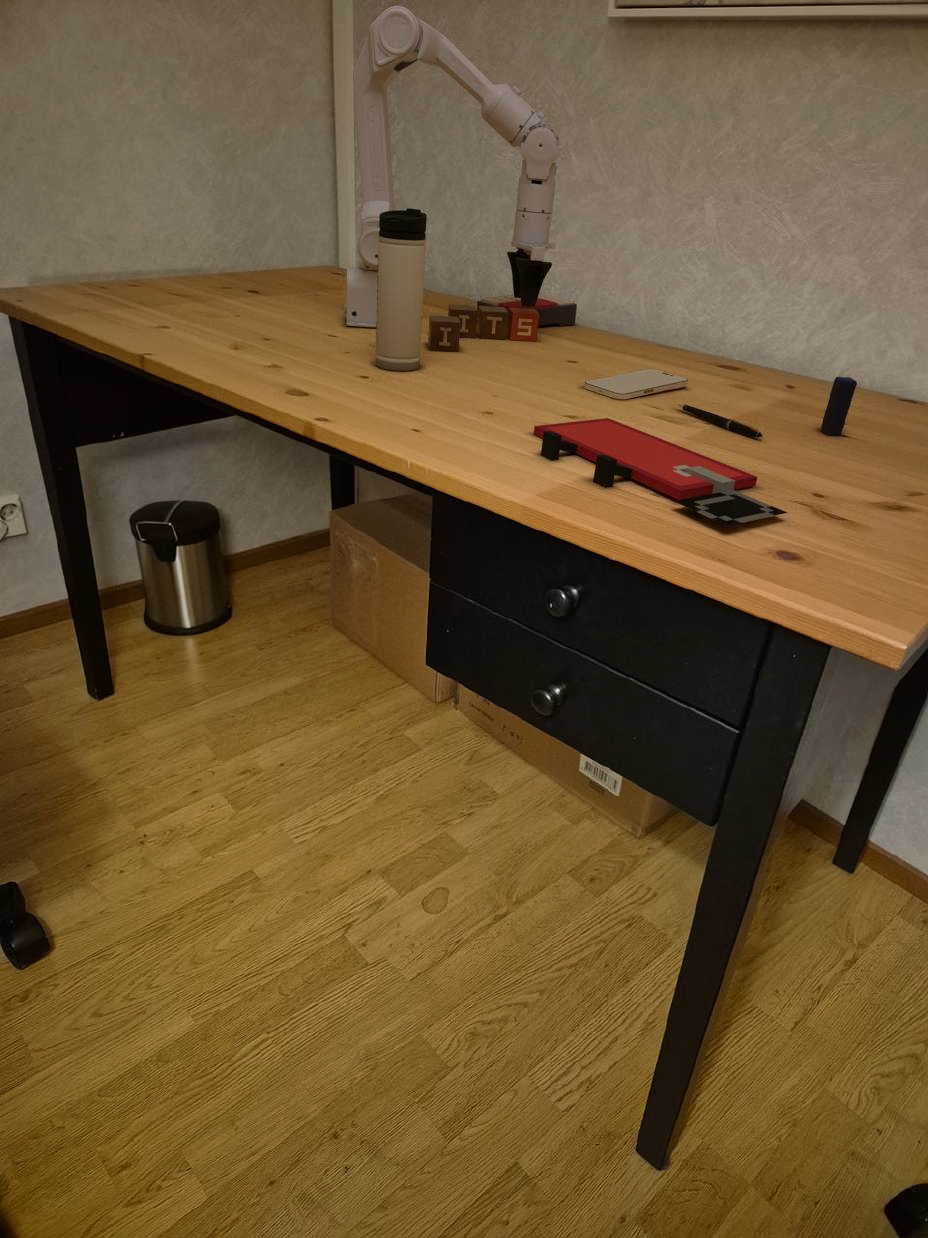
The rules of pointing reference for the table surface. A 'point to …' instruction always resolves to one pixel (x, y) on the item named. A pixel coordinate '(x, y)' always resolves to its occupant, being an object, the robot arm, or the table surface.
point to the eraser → (838, 405)
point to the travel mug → (400, 289)
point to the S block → (522, 324)
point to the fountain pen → (724, 421)
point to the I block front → (444, 333)
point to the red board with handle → (657, 468)
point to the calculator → (538, 308)
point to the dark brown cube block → (465, 319)
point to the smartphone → (635, 383)
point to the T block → (492, 322)
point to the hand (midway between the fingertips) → (524, 301)
